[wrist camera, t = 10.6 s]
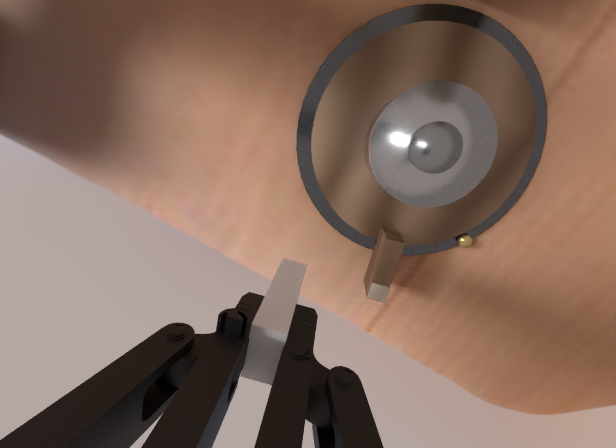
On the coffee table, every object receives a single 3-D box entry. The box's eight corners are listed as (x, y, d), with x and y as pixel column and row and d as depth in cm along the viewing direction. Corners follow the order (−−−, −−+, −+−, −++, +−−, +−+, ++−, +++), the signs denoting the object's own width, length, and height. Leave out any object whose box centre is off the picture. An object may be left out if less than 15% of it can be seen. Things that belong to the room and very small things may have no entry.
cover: (359, 193, 27) (365, 205, 22) (370, 88, 25) (379, 75, 20) (458, 199, 27) (487, 213, 22) (479, 92, 24) (518, 81, 19)
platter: (284, 255, 31) (275, 275, 27) (342, -1, 24) (342, -30, 20) (458, 300, 31) (477, 328, 26) (573, 54, 23) (625, 36, 19)
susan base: (277, 225, 31) (274, 229, 30) (329, -21, 24) (328, -30, 23) (479, 277, 31) (485, 283, 29) (592, 40, 24) (607, 35, 22)
